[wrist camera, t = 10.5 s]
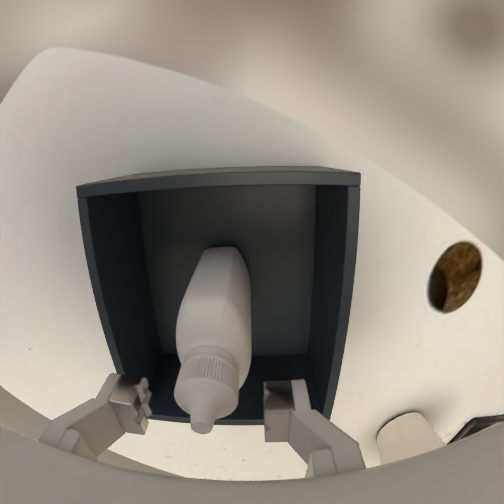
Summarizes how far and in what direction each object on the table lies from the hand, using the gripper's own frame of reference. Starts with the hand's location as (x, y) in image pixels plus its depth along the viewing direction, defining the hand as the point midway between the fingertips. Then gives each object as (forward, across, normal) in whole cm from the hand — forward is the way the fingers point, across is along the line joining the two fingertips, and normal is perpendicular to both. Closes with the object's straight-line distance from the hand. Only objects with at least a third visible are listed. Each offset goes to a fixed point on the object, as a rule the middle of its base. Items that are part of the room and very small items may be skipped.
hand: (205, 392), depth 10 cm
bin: (+12, 0, 0) cm, 12 cm away
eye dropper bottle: (+10, 0, 0) cm, 10 cm away
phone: (+12, -39, +31) cm, 51 cm away
